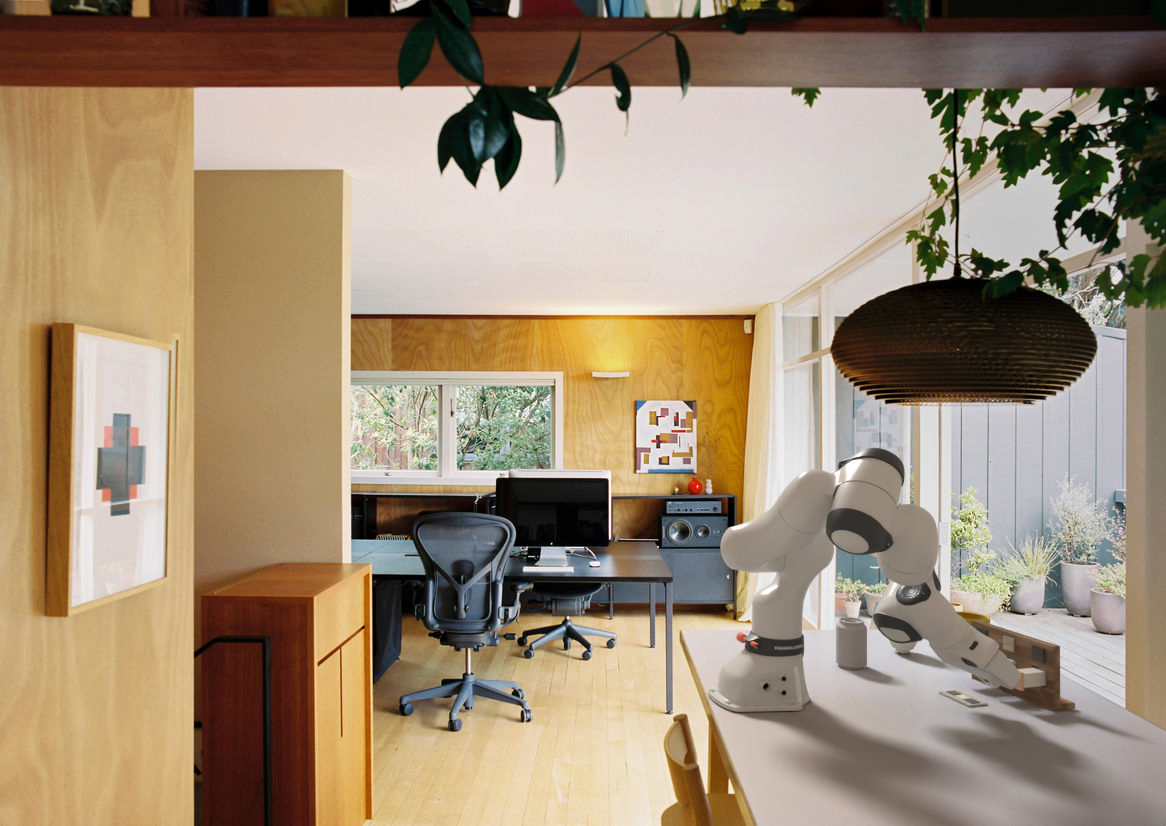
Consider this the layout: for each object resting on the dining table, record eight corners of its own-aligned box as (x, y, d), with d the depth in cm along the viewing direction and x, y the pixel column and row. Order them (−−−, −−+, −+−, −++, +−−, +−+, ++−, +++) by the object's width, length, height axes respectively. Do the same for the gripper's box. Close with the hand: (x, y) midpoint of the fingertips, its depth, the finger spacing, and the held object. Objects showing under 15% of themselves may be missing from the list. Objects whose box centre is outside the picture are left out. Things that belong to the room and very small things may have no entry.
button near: (1021, 690, 164) (1021, 673, 164) (1007, 685, 167) (1006, 667, 167) (1053, 687, 166) (1053, 669, 166) (1039, 681, 170) (1039, 664, 170)
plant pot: (984, 647, 213) (983, 612, 213) (995, 657, 203) (994, 621, 203) (944, 644, 215) (943, 609, 216) (953, 655, 205) (952, 618, 206)
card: (968, 707, 166) (968, 704, 166) (939, 693, 175) (939, 690, 175) (987, 705, 168) (987, 702, 168) (957, 691, 176) (957, 689, 176)
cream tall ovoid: (881, 649, 210) (881, 584, 210) (905, 647, 212) (905, 582, 212) (899, 657, 202) (899, 589, 203) (924, 656, 204) (924, 588, 205)
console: (1051, 712, 164) (1051, 646, 164) (970, 678, 186) (970, 620, 186) (1075, 709, 165) (1074, 644, 166) (991, 676, 187) (991, 619, 188)
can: (862, 662, 198) (862, 616, 198) (870, 671, 191) (870, 623, 191) (833, 661, 199) (833, 615, 199) (839, 670, 191) (839, 622, 192)
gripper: (913, 639, 171) (950, 680, 173) (984, 667, 151) (1024, 712, 153) (930, 618, 172) (966, 659, 174) (1002, 643, 152) (1041, 688, 155)
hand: (994, 684), depth 164 cm, fingers closed
